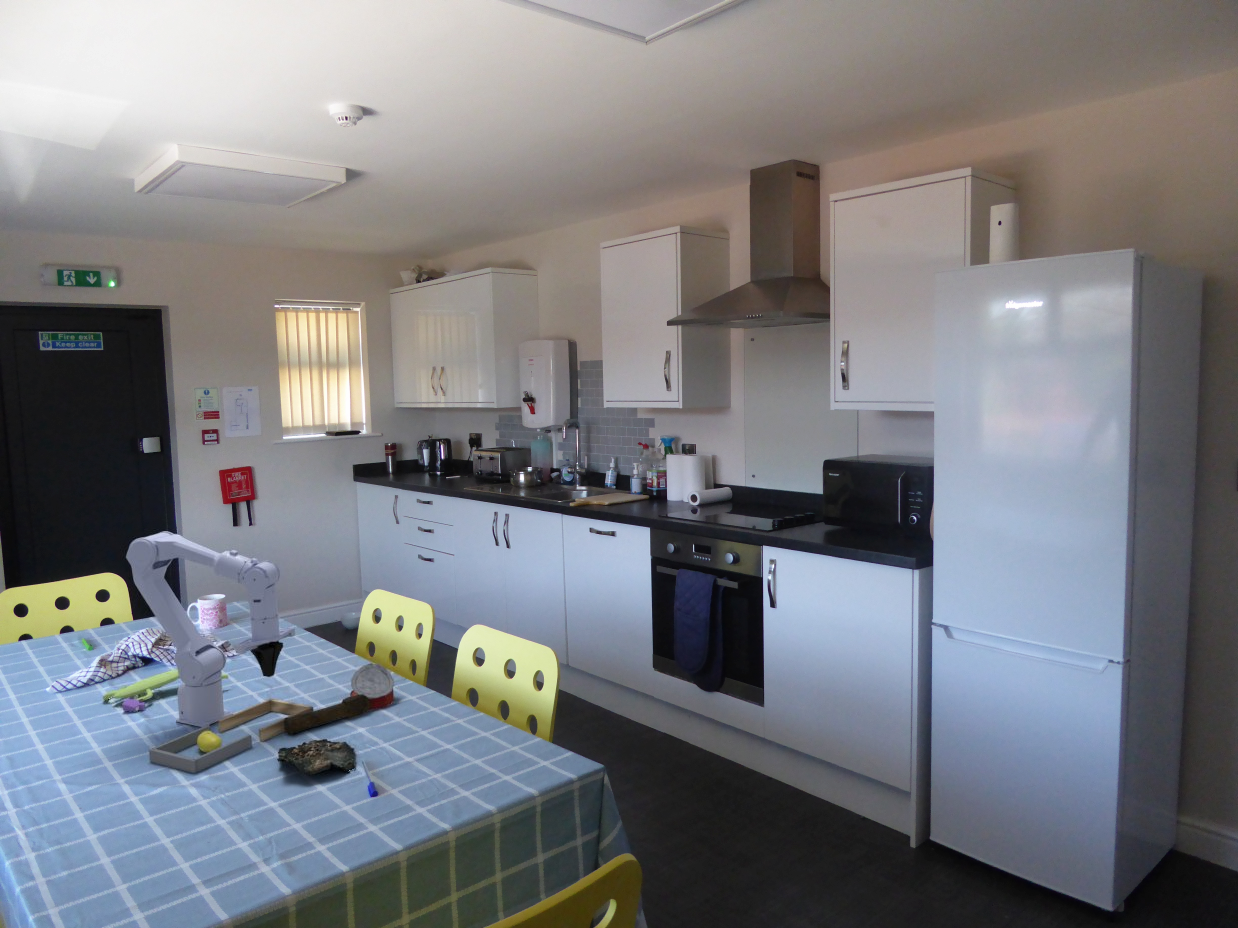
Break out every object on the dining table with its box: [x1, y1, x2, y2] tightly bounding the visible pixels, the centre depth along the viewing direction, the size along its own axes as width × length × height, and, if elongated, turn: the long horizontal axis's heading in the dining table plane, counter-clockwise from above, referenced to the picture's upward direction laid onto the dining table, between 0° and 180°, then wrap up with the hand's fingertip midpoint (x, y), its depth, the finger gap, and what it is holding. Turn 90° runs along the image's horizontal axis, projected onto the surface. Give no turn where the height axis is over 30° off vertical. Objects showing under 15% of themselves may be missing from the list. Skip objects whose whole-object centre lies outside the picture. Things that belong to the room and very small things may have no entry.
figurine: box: [102, 668, 229, 712], centre depth 204 cm, size 18×27×6 cm
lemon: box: [196, 730, 223, 754], centre depth 171 cm, size 4×8×4 cm, turn 41°
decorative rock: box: [277, 738, 356, 776], centre depth 163 cm, size 19×6×15 cm
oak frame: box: [217, 698, 315, 742], centre depth 183 cm, size 14×14×2 cm
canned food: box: [349, 662, 395, 711], centre depth 194 cm, size 11×10×10 cm
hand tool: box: [283, 694, 372, 737], centre depth 183 cm, size 19×4×5 cm, turn 128°
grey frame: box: [148, 725, 253, 774], centre depth 169 cm, size 14×13×2 cm
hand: (268, 675), depth 186 cm, fingers closed
